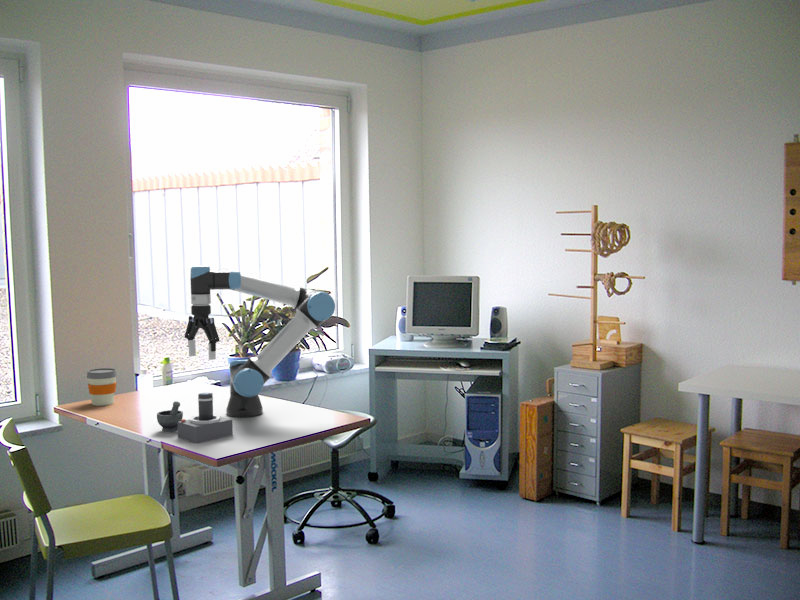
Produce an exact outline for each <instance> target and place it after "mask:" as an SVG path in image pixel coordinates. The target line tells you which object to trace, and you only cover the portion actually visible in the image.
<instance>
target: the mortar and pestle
mask: <svg viewBox="0 0 800 600" xmlns="http://www.w3.org/2000/svg"><path fill="white" fill-rule="evenodd" d="M180 406H181V403H180V402H179V401H173V402H172V407H171V409H169V410H168V409H167V410H161V411H158V412H157V413H156V420H157V423H158V424H159V426H160V427H161V431H162V432H163V433H174V432H175V433H176V432H178V422H179V421H181V419H184V417H183V416H184V413H183V411H182V410H179V408H180Z"/></svg>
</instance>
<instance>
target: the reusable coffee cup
mask: <svg viewBox="0 0 800 600" xmlns="http://www.w3.org/2000/svg"><path fill="white" fill-rule="evenodd" d="M86 372H87V374H86V378H87V381H88V383H87V388H88V393H89V395H90V399H91V405H92V406H108V405H109V406H110V405H112V404H114V401H115V400H114V399H115V393H116V391H117V376H118V373H117V369H115V368H111V367H109V368H108V367H105V368H103V367H99V368H92V369H89V370H87V371H86Z"/></svg>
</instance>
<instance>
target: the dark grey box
mask: <svg viewBox="0 0 800 600" xmlns="http://www.w3.org/2000/svg"><path fill="white" fill-rule="evenodd" d="M233 426H234V425H233V419H231V418H229V417H225V416H221V415H217V414H213V420H208V421H199V415H195V416H194V415H193V416H191V417H190V418H188V419H186V418H182V419H181V421H179V422H178V431H177V438H178V439H181V440H184V441H187V442H190V443H193V444H199V443H203V442H207V441H213V440H216V439H222V438H226V437H230V436H233V435H234V433H233V431H234V430H233V428H234V427H233Z"/></svg>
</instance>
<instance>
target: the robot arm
mask: <svg viewBox="0 0 800 600" xmlns="http://www.w3.org/2000/svg"><path fill="white" fill-rule="evenodd" d="M189 277H190V279H189V280H190V294H191V295H190V299H191V300H190V301H191V302H190V303H191V304H190V305H191V307H190V312H191V313H190V314H191V315H189V316H188V323H187V326H186V330H185V334H184V338H185V339H186V340H187V342H188V357H194V356H195V357H197V355H196V354H197V353H196V336H197V334H198V332H199V330H200V329H201V330H203V331H204V334H205V335H206V338H207V339H208V360H209V361H213V360H216V354H217V351H216V350H217V348H216V347H217V345H216V344H217V343H219V342H220V336H219V333H218V330H217V327H216V325H215V317H209V316H210V315H211V314H212V310H211V309H212V307H211V305H210V304H212V301H211V298H212V297H211V295H212V294H211V290H213V291H214V290H230V291H235V292H239V293H242V294H247V295H251V296H253V297H258V298H261V299H265V300H269V301H272V302H276V303H280V304H283V305H287V306H291V308H292V309H293V310H295V312H296V314H295V315H294V316H293V317H292V318H291V319H290V321H288V322H287V324H285V326H284V327H283V328H282V329H281V330H280V331H279V332H278V333H277V334H276V335H274V337H273V338H272V339H271V340H270V341H269V342H268V344H266V346H264V348H263V349H261V351H259V353H258V354H257V355H256V356H254V357H249V358H248V359H233V360H231V361H230V362H229V368H228V369H229V390H230V391H229V392H230V394H229V399H228V404H227V407H226V410H225V411H226V413H225V414H226V416H229V417H234V418H235V417H236V418H249V417H256V416H260V415H262V414H263V412H264V411H263V405H262V402H261V399H260V396H259V394H260V393H261V392H262V390H263V388H264V386H265V384H266V383H267V382H268V381H269V380H270V379H271V377H272V371H273V370H274V369H275V368H276V366H278V365H279V363H281V361H283V359H285V357H286V356H287V355H288V354H289V353H290V352H291V351H292V349H294V348H295V346H297V344H298V343H299V342H300V341H301V340H302V339H303V338H304V337H305V336H306V335H307V334H308V333H309V332H310V331H311V330H312V329H318V328H319V327H320V326H321V324H323V322H324V321H325V322H326V321H328V320H329V319H330V318H332V316H333V315H334V313H335V310H336V303H335V300H334V298H333V297H332V296H331V294H329V293H328V292H326V291H323V290H318V289H309V288H303V287H300V286H298V287H296V288H294V287H291V286H287V285H284V284H280V283H275V282H273V281H269V280H266V279H262V278H257V277H254V276H250V275H247V274H243V273H241V272H240V271H239V270H229V269H226V268H221V269H218V270H211V267H210V266H208V265H195V266H194V265H193V266H192V267H191V268H190V276H189Z"/></svg>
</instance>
